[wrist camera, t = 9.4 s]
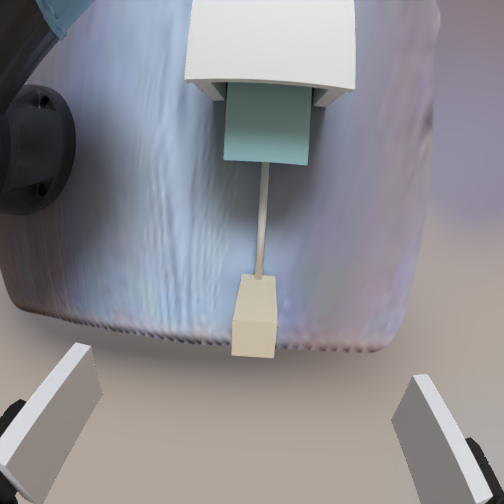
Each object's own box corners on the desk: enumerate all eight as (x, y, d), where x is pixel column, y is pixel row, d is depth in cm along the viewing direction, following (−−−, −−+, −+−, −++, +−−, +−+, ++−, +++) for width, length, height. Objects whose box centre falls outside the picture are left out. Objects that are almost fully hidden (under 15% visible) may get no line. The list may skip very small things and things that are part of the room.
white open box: (211, 103, 26) (184, 79, 17) (223, -28, 22) (207, -84, 12) (325, 110, 26) (354, 89, 17) (327, -22, 21) (346, -76, 12)
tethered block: (227, 302, 32) (213, 353, 23) (236, 95, 26) (221, 69, 17) (286, 306, 32) (291, 358, 23) (302, 98, 26) (318, 75, 17)
